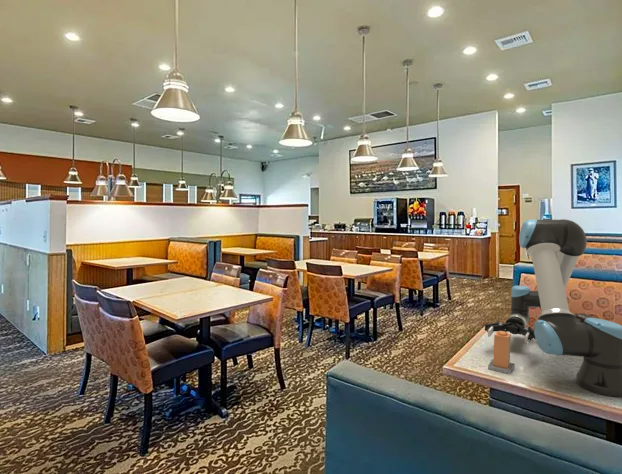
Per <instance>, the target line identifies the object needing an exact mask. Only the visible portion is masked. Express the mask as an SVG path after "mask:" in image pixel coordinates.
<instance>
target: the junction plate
mask: <svg viewBox="0 0 622 474" xmlns="http://www.w3.org/2000/svg"><path fill="white" fill-rule="evenodd" d="M493 361H494V358H492V359H491V360H490V362H489V363H488V365H487V369H488V370H490V369H493V370H492V371H495V370H496V371H495V372H499V371H500V372H499V373H503V374H504V373H505V374H509V375H511V374H512V373H513V371H514V370H515V368H516V364H515V362H510V364H509V366H508V368H505V367H500V366H496V365H493Z"/></svg>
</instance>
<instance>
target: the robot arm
mask: <svg viewBox="0 0 622 474" xmlns="http://www.w3.org/2000/svg"><path fill="white" fill-rule="evenodd" d="M587 240H588V239H587V236H586V233H585V230H584V229H583V227H581V226H580V224H578V223H577V222H575V221H573V220H569V219H538V218H535V219H527V220H525V221H524V222H523V223H522V225H521V227H520V230H519V235H518V241H519V247H520V248H522V249H525V250H526V254H527V255H528V256H530V257H531V260H532V265H533V270H534V275H535V281H536V288H537V290H531V289H530V286H526V285H514V286H512V287H511V295H510V316H509V317H508V318H507V319H506V321H505V322H503V323H501V322H500V321H499V320H498V321H495V322H492V323H487V324H484V331H485V332H487V337H491V336H492V335H493V333H494V332H495V333H496V332H498V331H505V332H507V333H509V334H511V335H522V336H524V344H528V343H529V341H533V339H534V340H535V341H536V343H537V346H538V347H539V349H540V350H541V351H542V352H543V353H545V354H547V355H555V356H559V357H560V356H570V357H583V359H582V363H581V365H580V367H579V369H578V372H577V373H576V377H575V379H576V380H575V381H576V383H577V384H578V386H580V387H581V388H583V389H585V390H587V391H590V392H592V393H596V394H599V395H602V396H607V397H608V396H609V397H615V396H616V398H617V397H618V398H621V397H622V325H621V324H618V323H617V322H614V321H610V320H606V319H601V318H597V317H594V318H586V319H585V320H584V322H585V323H580V322H577V321H576V316H575V315H574V314H575V313H573V312H571V311H570V307H569V304H568V299H567V293H566V288H567V285H568V283H569V281H570V278H571V276H572V273H573V272H574V269H575V267H576V264H577V262H578V261H579V260H578V259H579V258H580V257H582V256H583V255H584V253H585V251H586V250H587V244H588V241H587ZM530 308H540V309H541V314H539V316H538V318H537V319H538V320H535V322H534V324H533V328H534V329H533V328H532V326H528V324H529V322H530ZM527 326H528V327H527Z"/></svg>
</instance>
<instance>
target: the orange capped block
mask: <svg viewBox="0 0 622 474" xmlns="http://www.w3.org/2000/svg"><path fill="white" fill-rule="evenodd" d="M493 336H494V337H493V359H494V361H493V365H496V366H500V367H505V368H508V366H509V364H510V363H511V361H510V360H511V341H512V340H511V337H512V333H510V332H505V331H496V332H495V333H494V335H493Z"/></svg>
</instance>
